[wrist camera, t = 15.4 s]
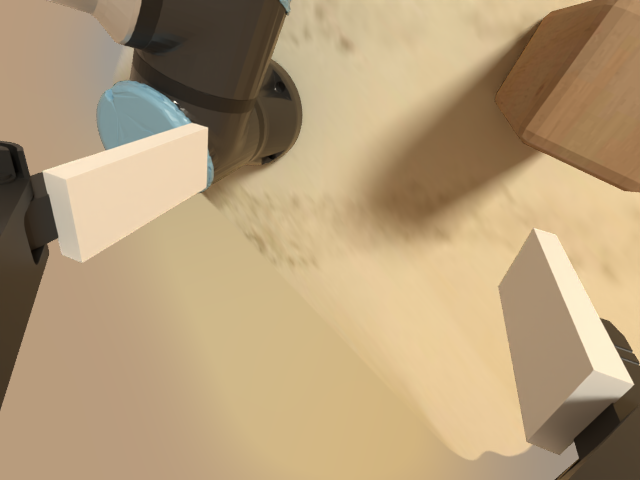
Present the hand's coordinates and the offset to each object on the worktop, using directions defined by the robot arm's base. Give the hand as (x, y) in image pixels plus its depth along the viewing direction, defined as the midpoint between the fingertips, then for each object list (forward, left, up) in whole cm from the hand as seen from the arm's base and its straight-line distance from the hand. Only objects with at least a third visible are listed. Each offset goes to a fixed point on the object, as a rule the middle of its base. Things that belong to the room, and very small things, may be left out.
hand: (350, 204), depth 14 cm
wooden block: (+14, +5, -37) cm, 40 cm away
